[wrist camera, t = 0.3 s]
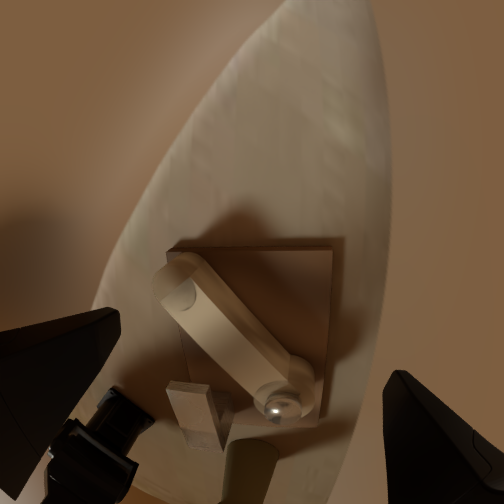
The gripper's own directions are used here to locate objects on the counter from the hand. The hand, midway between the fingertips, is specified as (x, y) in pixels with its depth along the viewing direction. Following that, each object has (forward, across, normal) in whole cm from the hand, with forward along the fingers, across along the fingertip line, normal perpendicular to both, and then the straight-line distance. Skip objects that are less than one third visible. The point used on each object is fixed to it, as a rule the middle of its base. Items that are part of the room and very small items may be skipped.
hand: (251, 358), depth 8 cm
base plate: (+12, 0, +9) cm, 15 cm away
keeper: (+12, 0, +12) cm, 18 cm away
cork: (+13, -2, +25) cm, 28 cm away
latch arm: (+11, +1, +7) cm, 13 cm away
